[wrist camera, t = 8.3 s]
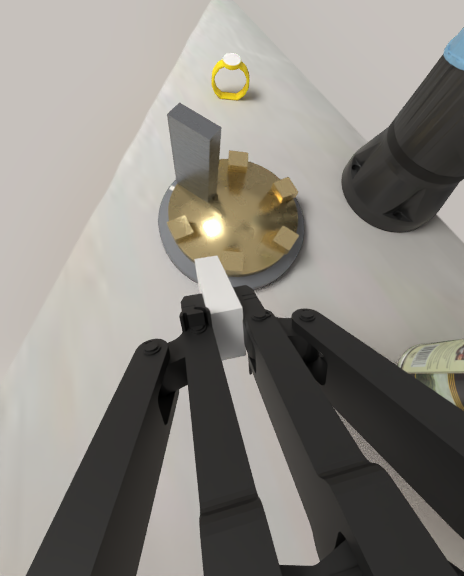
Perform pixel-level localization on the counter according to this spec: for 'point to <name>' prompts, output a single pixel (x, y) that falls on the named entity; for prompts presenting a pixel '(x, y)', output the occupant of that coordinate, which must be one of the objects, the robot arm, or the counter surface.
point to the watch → (231, 63)
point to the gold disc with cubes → (226, 201)
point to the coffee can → (438, 368)
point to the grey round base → (251, 280)
